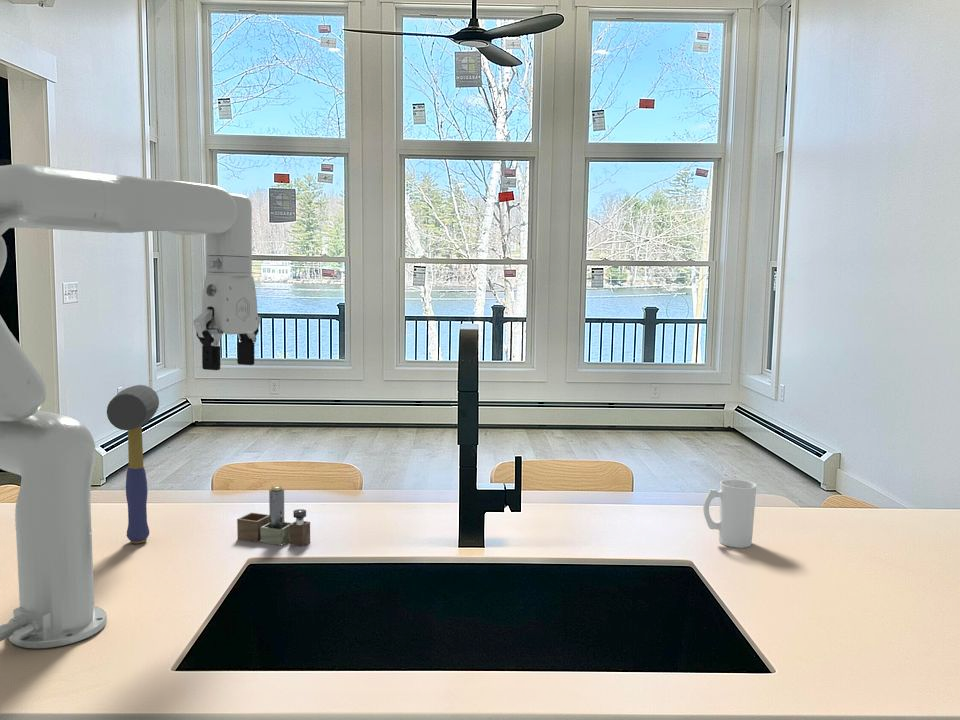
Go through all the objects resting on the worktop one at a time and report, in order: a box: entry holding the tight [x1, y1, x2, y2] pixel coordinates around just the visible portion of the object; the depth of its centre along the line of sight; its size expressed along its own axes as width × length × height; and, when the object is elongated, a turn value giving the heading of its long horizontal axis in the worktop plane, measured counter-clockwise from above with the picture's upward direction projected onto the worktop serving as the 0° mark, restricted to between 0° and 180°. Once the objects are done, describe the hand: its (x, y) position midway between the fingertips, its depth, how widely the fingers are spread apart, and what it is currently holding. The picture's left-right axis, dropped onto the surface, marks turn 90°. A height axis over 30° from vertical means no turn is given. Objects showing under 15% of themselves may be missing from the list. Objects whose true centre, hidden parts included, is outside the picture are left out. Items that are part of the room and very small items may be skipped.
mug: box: [703, 478, 757, 549], centre depth 157 cm, size 10×7×12 cm, turn 92°
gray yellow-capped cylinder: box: [268, 485, 285, 529], centre depth 154 cm, size 3×3×11 cm
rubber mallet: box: [106, 384, 160, 544], centre depth 151 cm, size 12×8×30 cm, turn 11°
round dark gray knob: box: [292, 508, 307, 525], centre depth 153 cm, size 2×2×6 cm
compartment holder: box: [236, 512, 311, 547], centre depth 155 cm, size 5×14×4 cm, turn 71°
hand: (229, 367), depth 138 cm, fingers open, 9 cm apart
